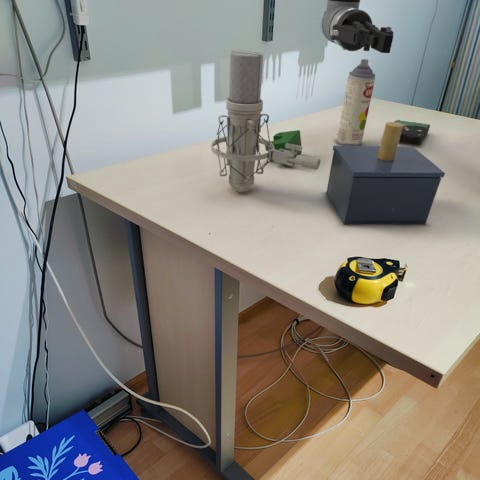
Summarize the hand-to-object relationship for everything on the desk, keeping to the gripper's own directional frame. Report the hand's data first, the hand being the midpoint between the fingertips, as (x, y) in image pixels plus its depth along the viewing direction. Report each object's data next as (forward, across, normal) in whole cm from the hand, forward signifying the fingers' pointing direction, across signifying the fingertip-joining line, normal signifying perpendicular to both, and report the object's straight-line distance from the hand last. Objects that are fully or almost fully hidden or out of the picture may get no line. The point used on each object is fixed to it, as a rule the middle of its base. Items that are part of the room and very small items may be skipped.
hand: (387, 44), depth 77 cm
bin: (+12, 0, -27) cm, 29 cm away
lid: (+11, 0, -17) cm, 21 cm away
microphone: (+6, +22, -27) cm, 35 cm away
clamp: (-16, +14, -27) cm, 34 cm away
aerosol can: (-30, -7, -27) cm, 41 cm away
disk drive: (-36, -26, -27) cm, 52 cm away
